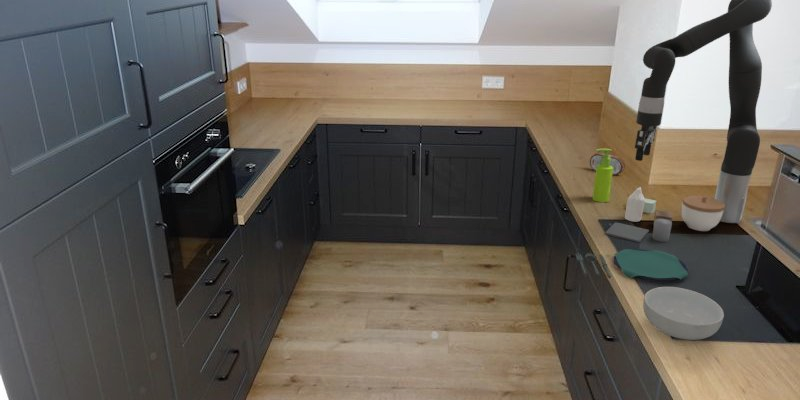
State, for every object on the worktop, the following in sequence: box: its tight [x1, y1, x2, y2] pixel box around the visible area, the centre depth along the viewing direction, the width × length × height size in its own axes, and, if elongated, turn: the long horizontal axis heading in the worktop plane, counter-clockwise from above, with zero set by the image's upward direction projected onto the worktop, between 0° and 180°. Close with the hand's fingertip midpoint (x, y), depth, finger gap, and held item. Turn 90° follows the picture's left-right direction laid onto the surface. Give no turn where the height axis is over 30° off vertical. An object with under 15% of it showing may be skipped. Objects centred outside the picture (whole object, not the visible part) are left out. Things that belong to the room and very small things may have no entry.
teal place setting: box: [575, 248, 689, 282], centre depth 166 cm, size 20×30×2 cm, turn 82°
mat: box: [604, 221, 650, 243], centre depth 189 cm, size 11×11×1 cm
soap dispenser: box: [592, 147, 613, 203], centre depth 215 cm, size 6×7×20 cm
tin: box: [589, 151, 626, 176], centre depth 248 cm, size 15×3×8 cm, turn 47°
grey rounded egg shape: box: [651, 219, 673, 243], centre depth 184 cm, size 5×5×6 cm
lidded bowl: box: [681, 195, 725, 232], centre depth 192 cm, size 13×13×11 cm
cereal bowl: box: [642, 286, 725, 341], centre depth 134 cm, size 17×17×7 cm
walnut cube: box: [653, 209, 673, 224], centre depth 193 cm, size 5×5×5 cm
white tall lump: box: [624, 186, 645, 223], centre depth 198 cm, size 6×12×6 cm
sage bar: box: [643, 197, 657, 215], centre depth 208 cm, size 8×4×4 cm, turn 51°
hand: (642, 157), depth 193 cm, fingers open, 8 cm apart
